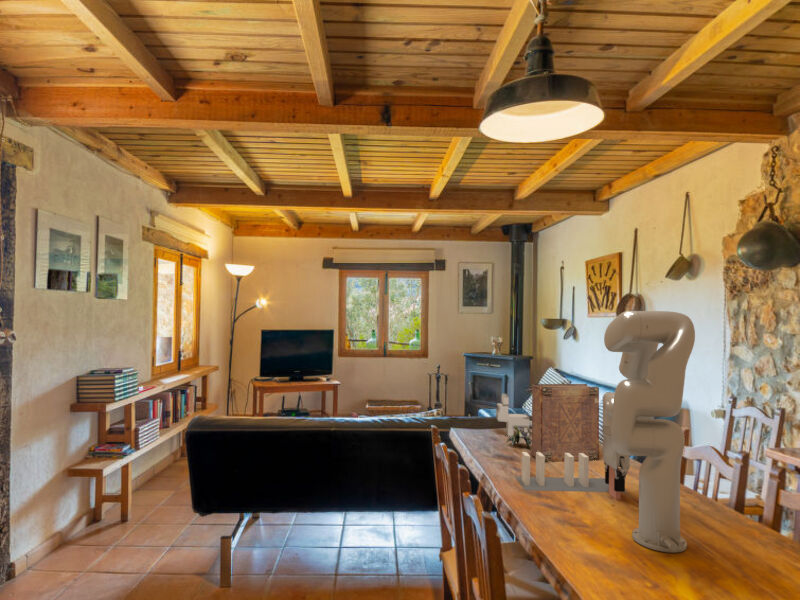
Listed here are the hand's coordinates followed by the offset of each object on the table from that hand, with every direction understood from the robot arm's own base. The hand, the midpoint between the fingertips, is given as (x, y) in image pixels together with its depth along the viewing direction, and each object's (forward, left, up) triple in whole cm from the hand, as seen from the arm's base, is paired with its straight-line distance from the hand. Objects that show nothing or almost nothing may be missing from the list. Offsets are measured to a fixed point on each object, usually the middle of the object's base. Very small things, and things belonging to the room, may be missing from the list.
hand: (614, 486), depth 160 cm
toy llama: (+82, +13, -4) cm, 83 cm away
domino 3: (+11, +11, -3) cm, 16 cm away
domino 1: (+11, +26, -3) cm, 28 cm away
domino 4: (+11, +6, -3) cm, 13 cm away
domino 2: (+11, +21, -3) cm, 24 cm away
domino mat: (+11, +11, -4) cm, 16 cm away
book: (+45, +1, -4) cm, 45 cm away
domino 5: (0, 0, -4) cm, 4 cm away
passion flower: (+61, +16, -4) cm, 63 cm away
